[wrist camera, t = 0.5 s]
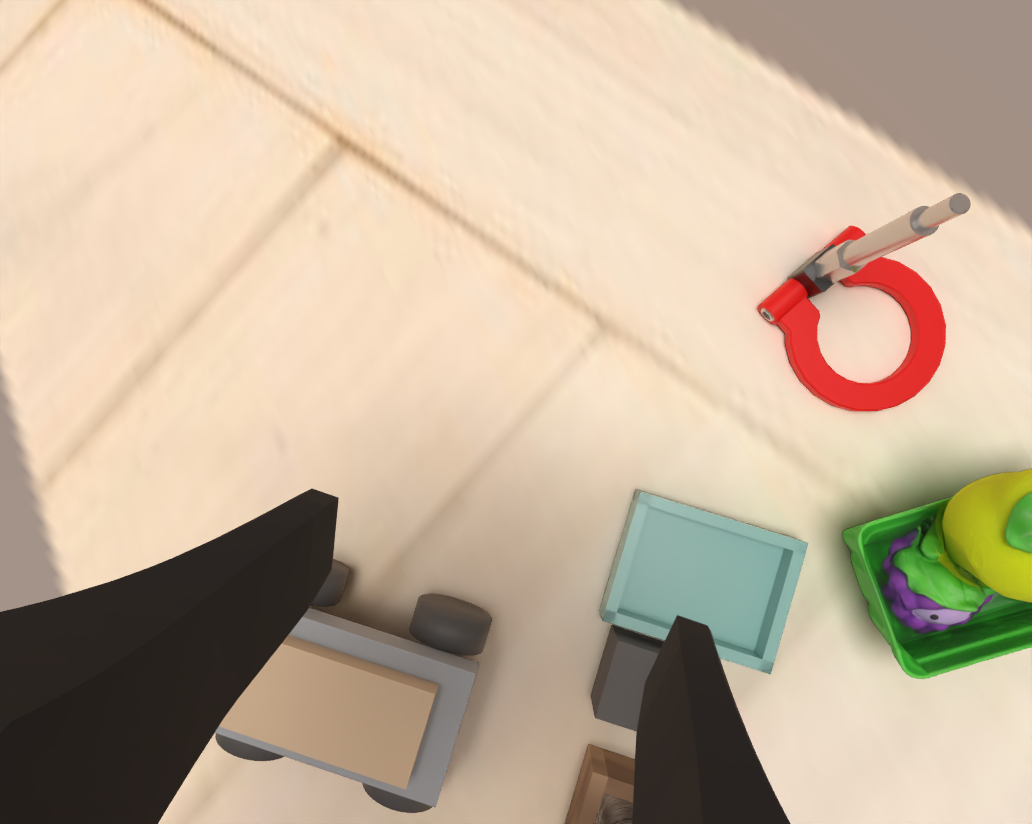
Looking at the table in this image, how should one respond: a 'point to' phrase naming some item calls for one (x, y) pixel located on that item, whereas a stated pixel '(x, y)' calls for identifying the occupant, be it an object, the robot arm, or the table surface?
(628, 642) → the block
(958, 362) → the table surface
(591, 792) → the pin socket
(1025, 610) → the fruit basket
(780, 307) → the tow hook
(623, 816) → the pin
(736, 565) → the tray
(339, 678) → the trolley
